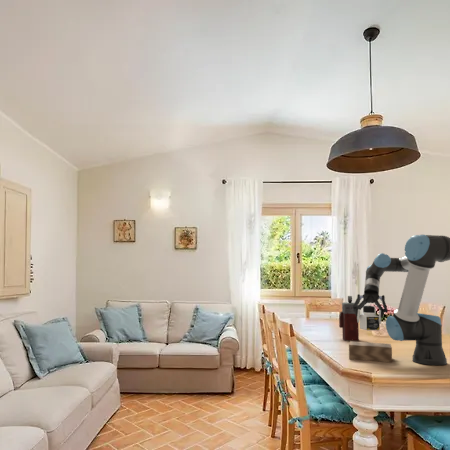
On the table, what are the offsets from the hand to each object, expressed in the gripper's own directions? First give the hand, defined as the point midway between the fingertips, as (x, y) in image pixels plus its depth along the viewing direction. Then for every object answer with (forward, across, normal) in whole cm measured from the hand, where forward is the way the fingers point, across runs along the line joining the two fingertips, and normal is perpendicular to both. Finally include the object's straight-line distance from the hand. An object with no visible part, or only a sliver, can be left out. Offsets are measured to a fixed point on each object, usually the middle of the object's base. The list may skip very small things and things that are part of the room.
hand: (368, 321), depth 217 cm
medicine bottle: (+1, 0, -6) cm, 6 cm away
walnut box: (+11, 0, -15) cm, 19 cm away
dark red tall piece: (-31, +20, -58) cm, 68 cm away
